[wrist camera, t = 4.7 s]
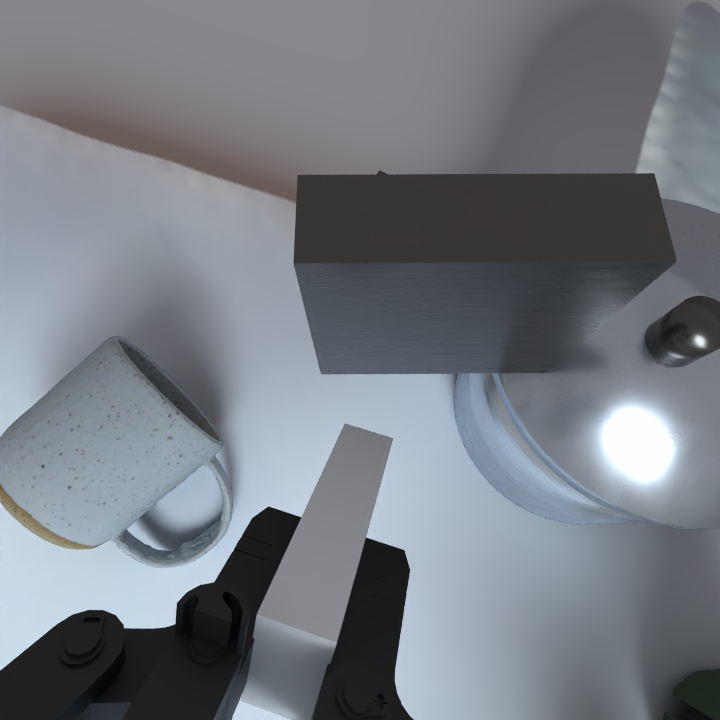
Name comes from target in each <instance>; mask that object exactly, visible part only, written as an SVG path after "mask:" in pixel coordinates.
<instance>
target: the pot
mask: <svg viewBox="0 0 720 720" xmlns="http://www.w3.org/2000/svg"><path fill="white" fill-rule="evenodd" d="M376 175H388V174H386V173H384V172H382V171H379V172H378V173H377V174H376ZM454 406H455V417H456V421H457V426H458V430H459V433H460V436H461V439H462V441H463V444H464V446H465V448H466V450H467V452H468V454H469V456H470V458H471V460H472V461H473V463H474V464H475V466H476V467H477V469H478V470H479V471H480V473H481V474H482V475H483V476H484V477H485V479H486V480H487V481H488V482H489V483H490V484H491V485H492V486H493V487H494V488H495V489H496V490H497V491H499V492H500V493H501V494H502V495H503V496H504V497H506V498H507V499H509V500H510V501H512V502H513V503H514V504H516V505H518V506H519V507H521V508H523V509H525V510H527V511H529V512H531V513H533V514H536V515H538V516H541V517H544V518H546V519H550V520H554V521H558V522H563V523H572V524H599V523H628V522H642V521H639V520H636V519H633V518H630V517H627V516H624V515H621V514H619V513H616V512H614V511H612V510H610V509H608V508H606V507H604V506H602V505H599V504H597V503H596V502H594V501H592V500H591V499H589V498H588V497H586V496H584V495H583V494H581V493H580V492H578V491H576V490H575V489H573V488H572V487H571V486H570V485H568V484H567V483H566V482H565V481H563V480H562V479H561V478H560V477H558V476H557V475H556V474H555V473H554V472H553V471H552V470H551V469H550V468H549V467H548V466H547V465H546V464H545V463H544V462H543V461H542V460H541V459H540V458H539V457H538V456H537V455H536V454H535V453H534V452H533V450H532V449H531V448H530V447H529V445H528V444H527V443H526V442H525V440H524V439H523V438H522V437H521V435H520V433H519V432H518V430H517V429H516V427H515V425H514V424H513V422H512V420H511V419H510V417H509V416H508V413H507V411H506V409H505V407H504V405H503V402H502V400H501V398H500V396H499V393H498V390H497V387H496V384H495V380H494V377H493V374H492V373H458V375H457V379H456V385H455V395H454Z"/></svg>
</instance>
